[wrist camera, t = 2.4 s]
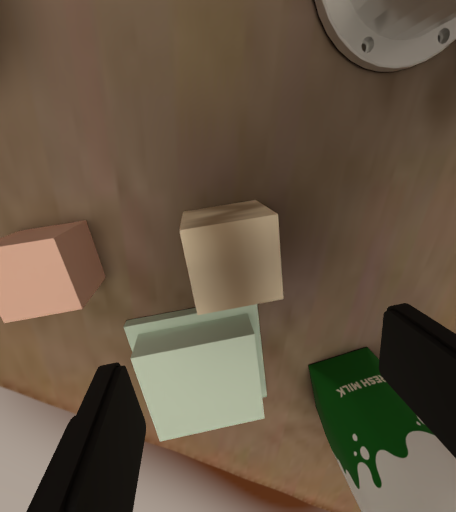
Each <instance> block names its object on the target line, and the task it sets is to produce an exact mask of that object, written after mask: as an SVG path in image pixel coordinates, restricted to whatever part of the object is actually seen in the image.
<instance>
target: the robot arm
mask: <svg viewBox="0 0 456 512" xmlns="http://www.w3.org/2000/svg"><path fill="white" fill-rule="evenodd" d="M315 4H316V7H317V11H318V15H319V17H320V20H321V22H322V24H323V26H324V28H325V30H326V33H327V35H328V36H329V37H330V39H331V40H332V42H333V43H334V44H335V46H336V47H337V49H338V50H339V51H340V52H342V53H343V54H344V55H345V56H346V57H347V58H348V59H349V60H350V61H352V62H354V63H356V64H358V65H359V66H361V67H363V68H366V69H370V70H374V71H378V72H395V71H399V70H403V69H407V68H410V67H412V66H415V65H417V64H419V63H422V62H424V61H427V60H428V59H430V58H432V57H433V56H435V55H437V54H438V53H440V52H442V51H443V50H444V49H445V48H446V47H447V46H449V45H450V44H451V43H452V42H453V41H454V40H456V0H315ZM379 372H380V374H381V376H382V377H383V379H384V380H385V381H386V382H387V383H388V384H389V385H390V386H391V388H392V389H393V390H394V391H395V392H396V393H397V394H398V395H399V396H400V398H401V399H402V400H403V401H404V402H405V403H406V404H407V405H408V406H409V407H410V409H411V410H412V411H413V412H414V413H415V414H416V415H417V416H418V417H419V418H420V420H421V421H422V422H423V423H424V424H425V425H426V426H427V427H428V428H429V430H430V431H431V432H432V433H433V434H434V435H435V436H436V437H437V438H438V439H439V441H440V442H441V443H442V444H443V445H444V446H445V447H446V448H447V449H448V451H449V452H450V453H451V454H452V455H453V456H454V457H455V458H456V334H455V333H453V332H452V331H450V330H449V329H447V328H445V327H444V326H442V325H441V324H439V323H438V322H436V321H434V320H433V319H431V318H430V317H428V316H427V315H425V314H423V313H422V312H420V311H419V310H417V309H416V308H414V307H412V306H411V305H409V304H406V303H403V304H398V305H394V306H390V307H388V308H387V311H386V312H385V313H384V317H383V328H382V338H381V348H380V359H379ZM145 434H146V423H145V419H144V416H143V413H142V411H141V408H140V405H139V402H138V400H137V397H136V394H135V391H134V388H133V386H132V383H131V380H130V377H129V374H128V372H127V369H126V367H125V366H120V364H119V363H112V364H107V365H102V366H100V367H98V369H97V371H96V373H95V375H94V377H93V380H92V382H91V384H90V386H89V388H88V391H87V393H86V395H85V397H84V399H83V401H82V404H81V406H80V408H79V410H78V412H77V415H76V416H74V417H73V418H72V419H71V420H70V422H69V423H68V425H67V427H66V429H65V431H64V434H63V436H62V438H61V440H60V442H59V444H58V446H57V449H56V451H55V453H54V455H53V457H52V459H51V461H50V463H49V465H48V467H47V470H46V472H45V474H44V476H43V478H42V480H41V482H40V484H39V486H38V489H37V491H36V493H35V495H34V497H33V499H32V501H31V503H30V505H29V508H28V510H27V512H133V505H134V500H135V494H136V488H137V481H138V476H139V469H140V464H141V458H142V452H143V446H144V440H145Z"/></svg>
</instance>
